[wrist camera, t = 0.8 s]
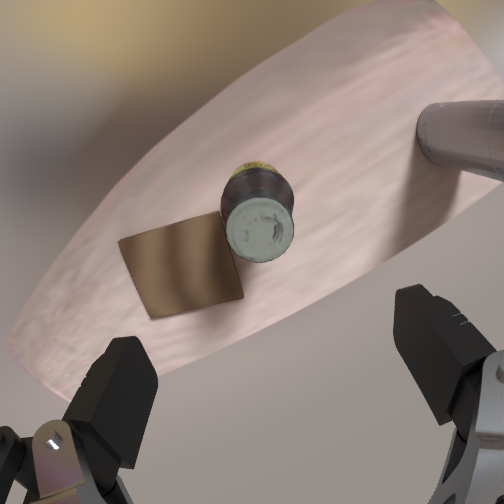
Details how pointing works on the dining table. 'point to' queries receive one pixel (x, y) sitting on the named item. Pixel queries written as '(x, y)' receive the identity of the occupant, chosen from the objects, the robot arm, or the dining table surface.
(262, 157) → the dining table surface
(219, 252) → the walnut board
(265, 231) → the sauce bottle
